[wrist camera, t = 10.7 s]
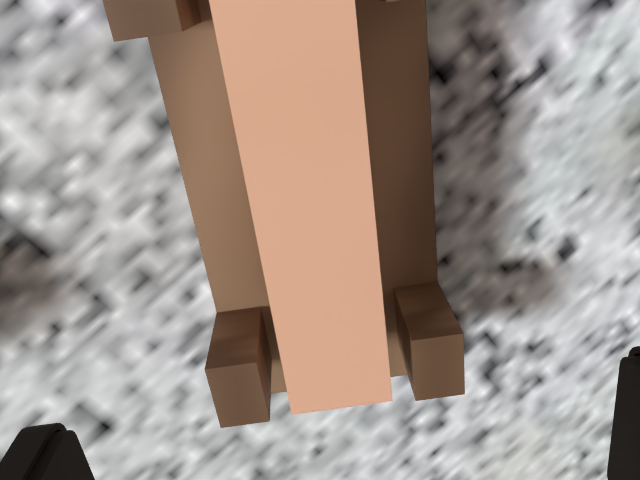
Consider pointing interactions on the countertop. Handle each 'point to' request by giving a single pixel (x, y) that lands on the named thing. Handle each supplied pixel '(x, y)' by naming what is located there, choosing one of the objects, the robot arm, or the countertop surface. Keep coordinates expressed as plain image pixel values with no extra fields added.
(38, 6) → the countertop surface
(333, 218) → the clay strip
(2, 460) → the robot arm
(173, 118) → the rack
